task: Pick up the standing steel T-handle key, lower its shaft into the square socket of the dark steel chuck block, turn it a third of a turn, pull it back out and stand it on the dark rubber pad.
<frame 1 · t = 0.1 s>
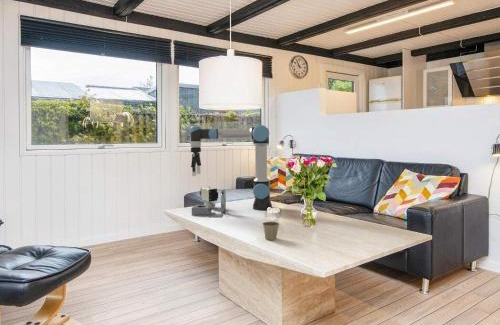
hand: (196, 175, 275), 28 cm above the table, tool pointing down, fingers open, 13 cm apart
flower pot: (271, 239, 203), on the table
chuck: (201, 213, 269), on the table
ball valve: (209, 208, 290), on the table
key: (223, 213, 270), on the table
pad: (216, 215, 262), on the table
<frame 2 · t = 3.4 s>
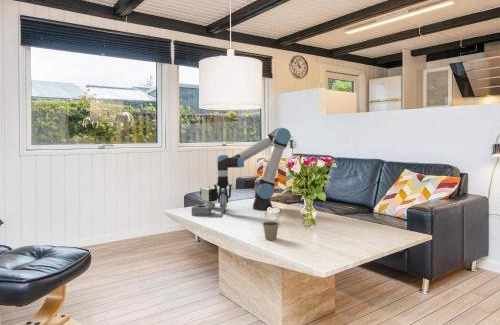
hand: (223, 207, 269), 5 cm above the table, tool pointing down, fingers closed on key, 3 cm apart
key: (223, 213, 270), on the table, touching gripper
everything else where it was.
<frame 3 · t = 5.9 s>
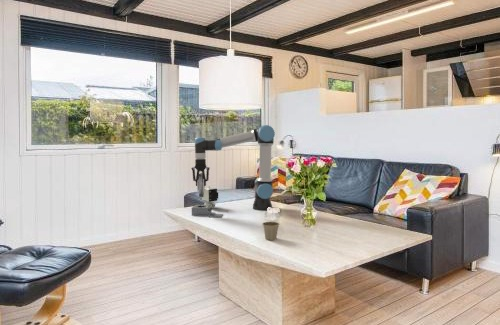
hand: (201, 190, 268), 17 cm above the table, tool pointing down, fingers closed on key, 3 cm apart
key: (201, 196, 268), point 13 cm above the table, touching gripper
everything else where it was.
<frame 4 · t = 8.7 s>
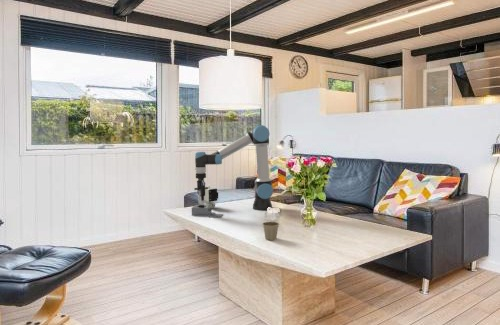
hand: (201, 204, 269), 7 cm above the table, tool pointing down, fingers closed on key, 3 cm apart
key: (201, 210, 269), point 2 cm above the table, touching gripper
everything else where it was.
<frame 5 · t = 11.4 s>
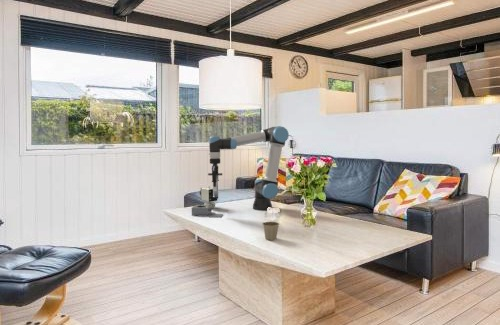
hand: (215, 190, 260), 18 cm above the table, tool pointing down, fingers closed on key, 3 cm apart
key: (215, 196, 261), point 14 cm above the table, touching gripper
everything else where it was.
when the fingers open (6 cm above the table, at t = 13.8 s): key drops 1 cm, resting on pad.
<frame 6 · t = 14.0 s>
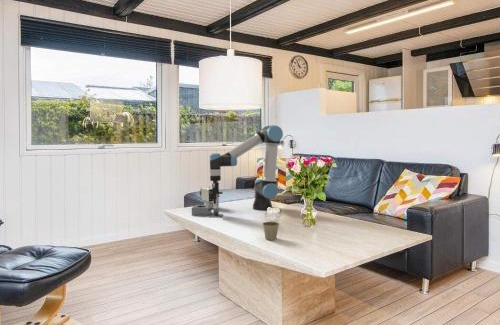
hand: (215, 207, 261), 6 cm above the table, tool pointing down, fingers open, 6 cm apart
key: (216, 215, 262), resting on pad
everything else where it was.
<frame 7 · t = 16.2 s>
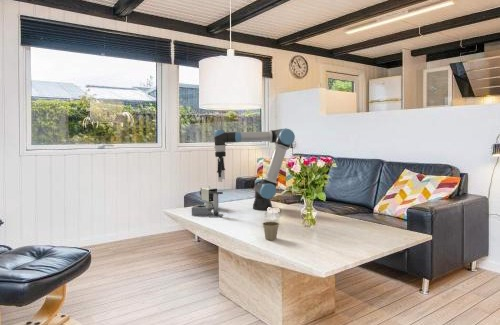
hand: (221, 180, 264), 25 cm above the table, tool pointing down, fingers open, 13 cm apart
nothing on the table moved.
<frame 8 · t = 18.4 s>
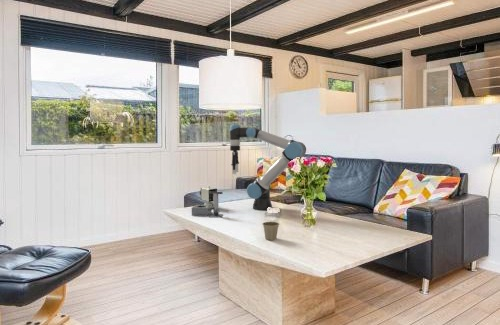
hand: (235, 173, 278), 29 cm above the table, tool pointing down, fingers open, 13 cm apart
nothing on the table moved.
at the end: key 0.0 cm from the pad (horizontally); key resting on pad; the gripper is holding nothing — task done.
